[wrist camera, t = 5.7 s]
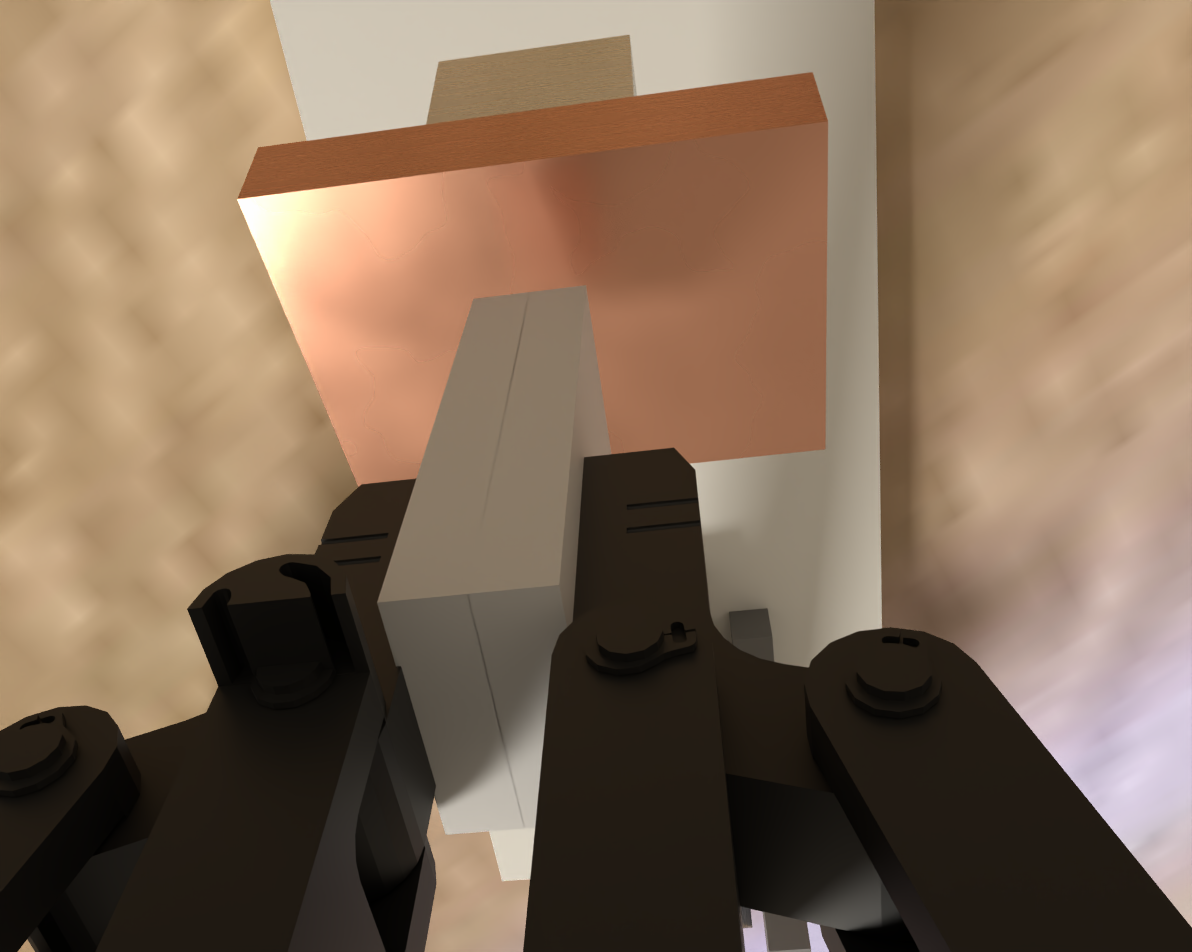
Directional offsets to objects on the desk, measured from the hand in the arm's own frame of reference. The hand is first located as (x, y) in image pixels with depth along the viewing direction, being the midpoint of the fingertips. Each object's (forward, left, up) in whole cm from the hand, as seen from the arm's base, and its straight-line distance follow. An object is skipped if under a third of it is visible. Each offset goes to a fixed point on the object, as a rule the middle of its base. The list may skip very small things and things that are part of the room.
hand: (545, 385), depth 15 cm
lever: (+11, 0, -9) cm, 14 cm away
